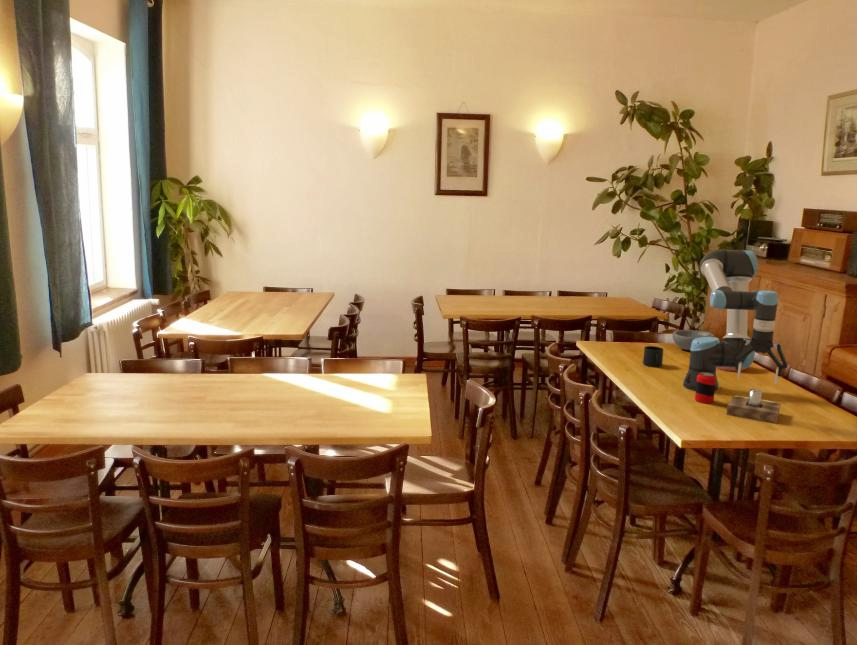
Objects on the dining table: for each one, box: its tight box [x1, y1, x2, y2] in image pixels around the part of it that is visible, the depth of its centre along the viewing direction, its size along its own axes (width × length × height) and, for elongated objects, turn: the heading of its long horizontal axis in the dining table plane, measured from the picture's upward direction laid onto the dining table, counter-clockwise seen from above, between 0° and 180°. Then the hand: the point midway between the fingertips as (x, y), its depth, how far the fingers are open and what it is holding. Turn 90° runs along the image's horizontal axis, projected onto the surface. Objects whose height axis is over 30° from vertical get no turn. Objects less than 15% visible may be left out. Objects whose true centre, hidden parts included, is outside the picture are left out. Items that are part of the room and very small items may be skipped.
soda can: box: [694, 372, 716, 404], centre depth 284 cm, size 8×8×12 cm
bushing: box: [748, 388, 763, 408], centre depth 268 cm, size 4×4×10 cm
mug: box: [642, 345, 664, 368], centre depth 342 cm, size 9×12×9 cm
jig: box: [726, 395, 781, 424], centre depth 268 cm, size 18×14×5 cm
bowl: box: [672, 329, 716, 352], centre depth 379 cm, size 23×22×10 cm
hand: (756, 380), depth 266 cm, fingers open, 13 cm apart
